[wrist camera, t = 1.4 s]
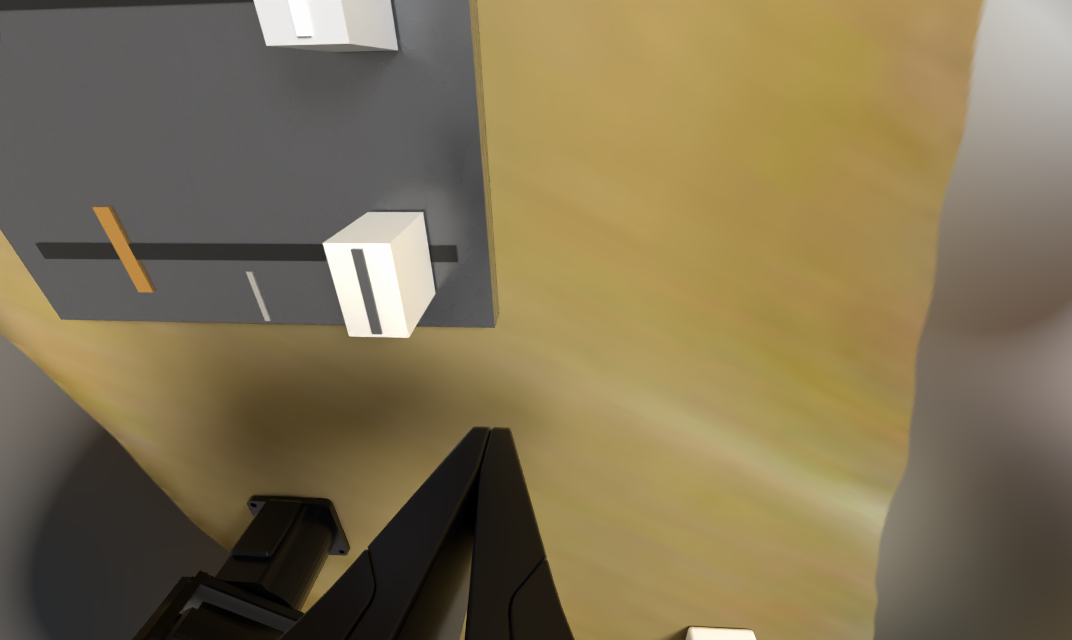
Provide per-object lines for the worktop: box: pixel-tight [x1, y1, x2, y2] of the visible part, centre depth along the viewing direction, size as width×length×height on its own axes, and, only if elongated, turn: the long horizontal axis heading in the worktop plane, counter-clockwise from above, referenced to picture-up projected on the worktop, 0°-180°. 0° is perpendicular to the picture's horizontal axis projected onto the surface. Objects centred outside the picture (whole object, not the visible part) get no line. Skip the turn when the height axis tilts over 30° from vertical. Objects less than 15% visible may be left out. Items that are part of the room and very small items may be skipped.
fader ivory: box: [323, 212, 436, 338], centre depth 18 cm, size 4×2×4 cm, turn 1°
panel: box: [0, 0, 499, 328], centre depth 18 cm, size 18×24×2 cm
